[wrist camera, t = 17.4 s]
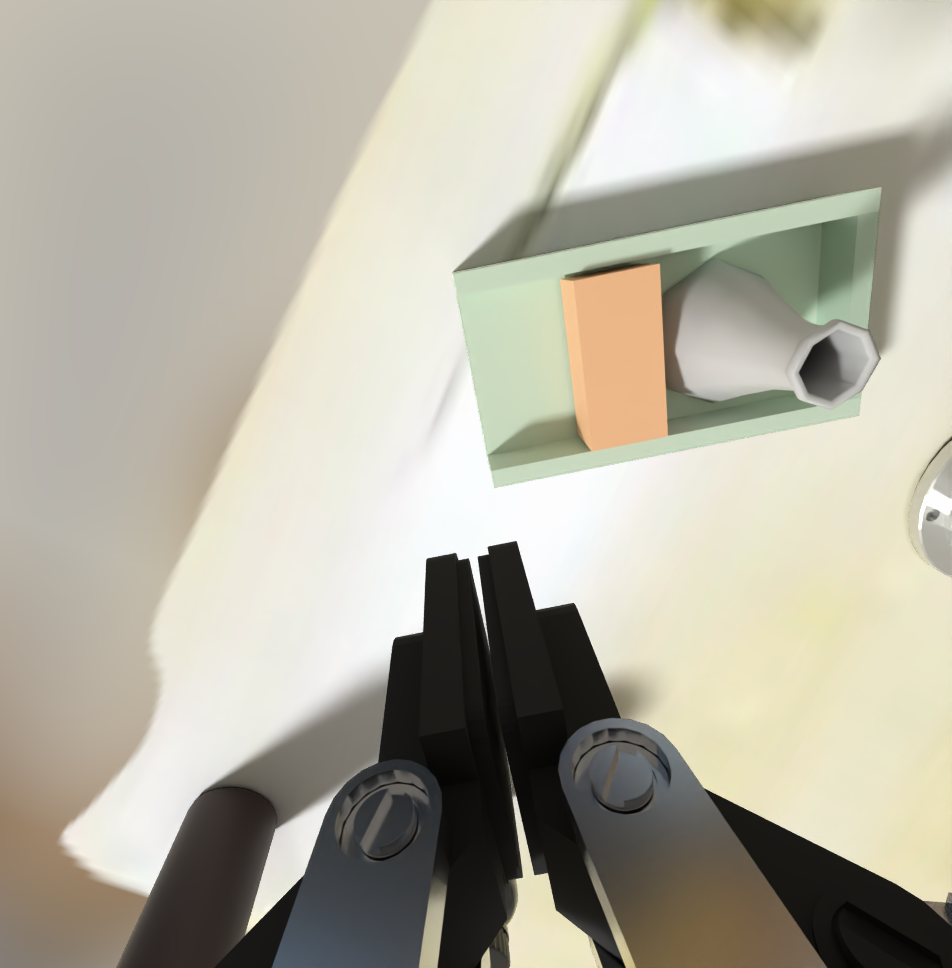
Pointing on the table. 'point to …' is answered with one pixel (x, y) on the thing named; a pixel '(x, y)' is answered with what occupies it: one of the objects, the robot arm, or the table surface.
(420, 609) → the table surface
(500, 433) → the pale green shallow box
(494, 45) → the table surface
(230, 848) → the vinegar
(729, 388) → the flask
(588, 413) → the block
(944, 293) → the table surface
